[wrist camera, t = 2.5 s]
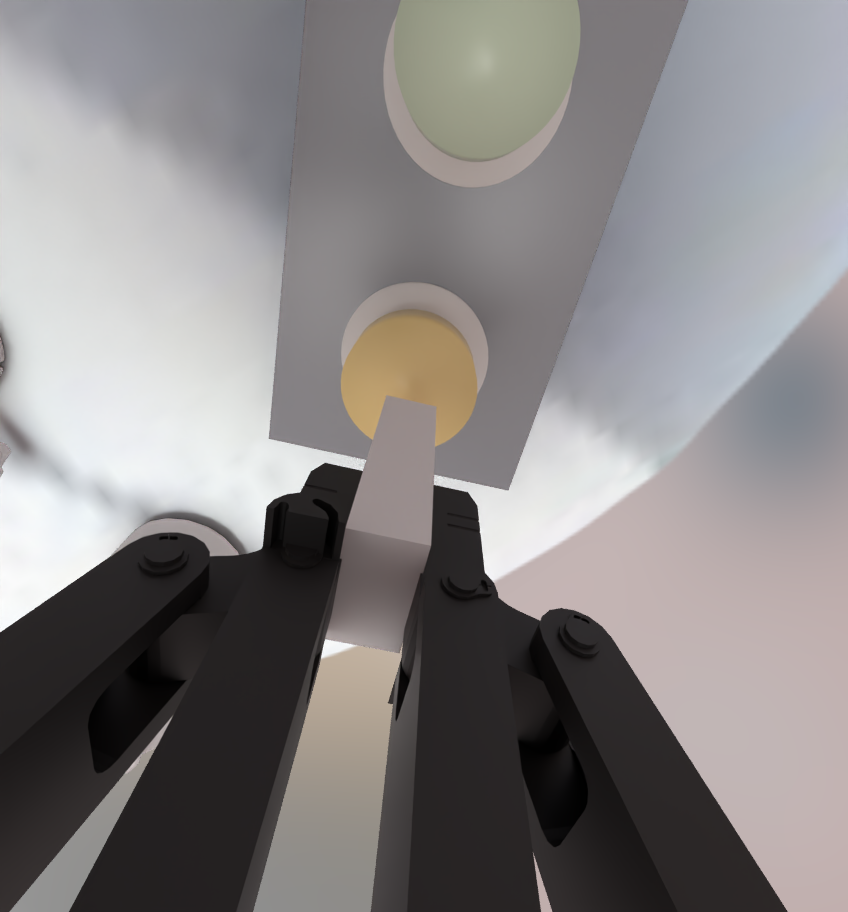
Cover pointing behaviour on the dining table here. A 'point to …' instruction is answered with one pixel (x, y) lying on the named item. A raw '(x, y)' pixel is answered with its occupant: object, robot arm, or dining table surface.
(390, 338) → the button ochre
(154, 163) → the dining table surface
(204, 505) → the dining table surface
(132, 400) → the dining table surface
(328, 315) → the console
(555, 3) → the button sage
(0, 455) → the mug
